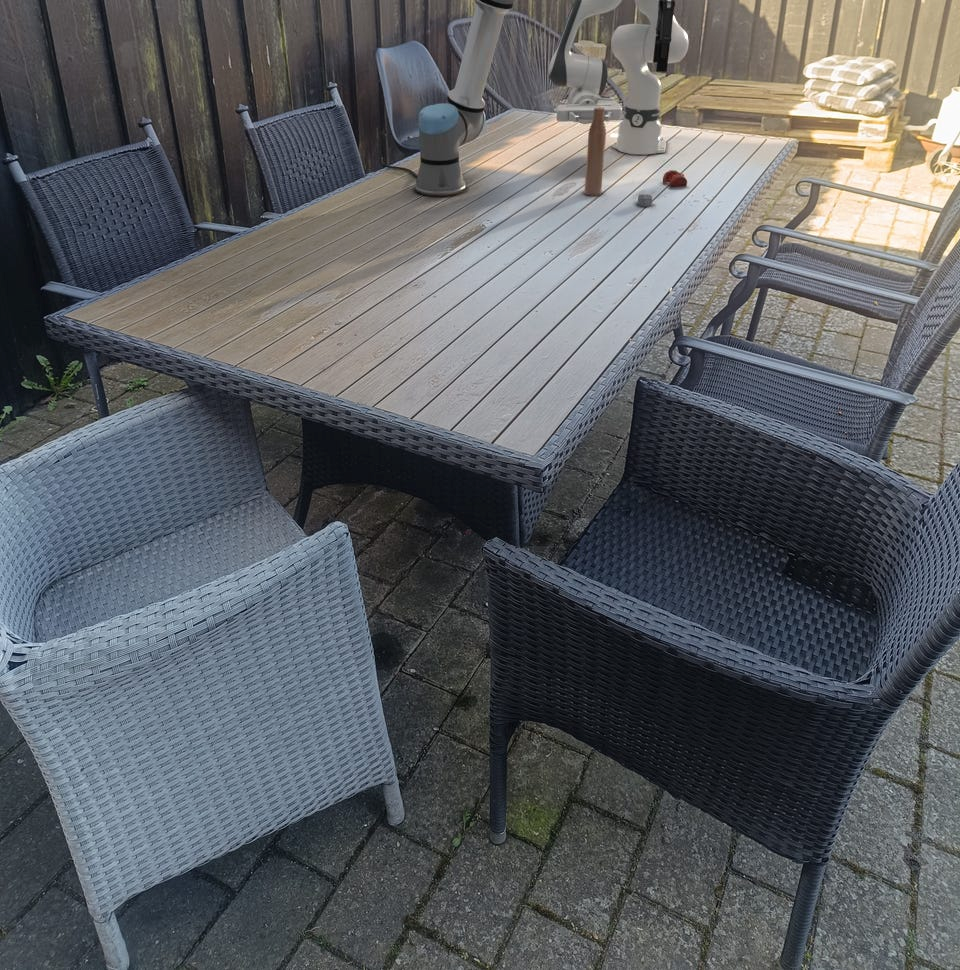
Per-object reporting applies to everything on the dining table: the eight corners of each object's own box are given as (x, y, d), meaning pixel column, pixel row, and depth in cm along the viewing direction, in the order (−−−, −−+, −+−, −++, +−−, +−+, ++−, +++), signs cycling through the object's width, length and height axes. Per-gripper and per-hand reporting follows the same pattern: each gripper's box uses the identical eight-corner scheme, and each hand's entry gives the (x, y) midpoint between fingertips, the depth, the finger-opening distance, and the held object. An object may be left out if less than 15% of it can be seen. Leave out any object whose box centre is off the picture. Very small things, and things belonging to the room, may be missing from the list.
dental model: (678, 166, 263) (689, 173, 257) (677, 180, 266) (688, 187, 260) (661, 168, 262) (672, 175, 256) (660, 182, 265) (671, 189, 259)
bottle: (588, 196, 253) (595, 110, 239) (581, 191, 257) (587, 107, 243) (604, 194, 254) (611, 109, 240) (596, 190, 258) (603, 105, 244)
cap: (650, 207, 245) (651, 199, 243) (636, 206, 245) (637, 198, 244) (651, 203, 248) (652, 194, 246) (637, 202, 249) (638, 193, 247)
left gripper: (689, -21, 202) (677, 75, 215) (680, -30, 223) (670, 59, 235) (658, -21, 203) (647, 75, 216) (652, -30, 223) (643, 58, 236)
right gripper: (553, 98, 264) (558, 108, 253) (618, 96, 264) (625, 107, 253) (552, 119, 268) (557, 130, 257) (616, 118, 268) (623, 129, 257)
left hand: (659, 67), depth 225 cm, fingers open, 13 cm apart
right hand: (591, 119), depth 255 cm, fingers open, 8 cm apart
